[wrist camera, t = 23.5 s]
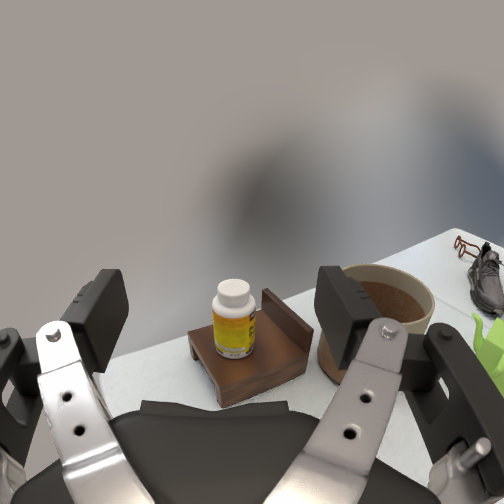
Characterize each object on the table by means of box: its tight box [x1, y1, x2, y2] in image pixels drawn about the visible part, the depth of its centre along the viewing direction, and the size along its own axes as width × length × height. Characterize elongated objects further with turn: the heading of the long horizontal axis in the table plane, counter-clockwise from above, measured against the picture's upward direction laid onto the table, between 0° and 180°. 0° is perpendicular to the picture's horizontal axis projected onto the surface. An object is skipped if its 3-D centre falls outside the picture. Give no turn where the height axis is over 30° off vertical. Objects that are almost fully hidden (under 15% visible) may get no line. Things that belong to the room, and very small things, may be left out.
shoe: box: [468, 242, 504, 315], centre depth 56 cm, size 10×27×12 cm, turn 150°
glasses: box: [454, 236, 481, 258], centre depth 79 cm, size 13×13×5 cm
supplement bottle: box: [212, 279, 256, 359], centre depth 37 cm, size 6×6×10 cm
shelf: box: [188, 288, 314, 408], centre depth 41 cm, size 14×12×9 cm
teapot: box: [472, 313, 504, 398], centre depth 32 cm, size 15×13×11 cm
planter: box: [318, 264, 435, 384], centre depth 40 cm, size 16×16×14 cm
